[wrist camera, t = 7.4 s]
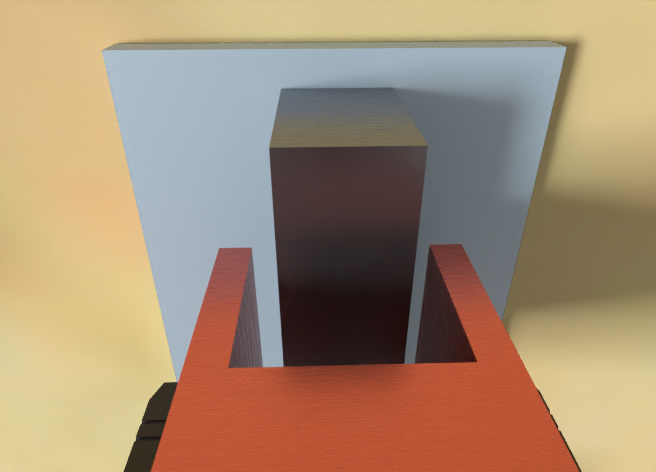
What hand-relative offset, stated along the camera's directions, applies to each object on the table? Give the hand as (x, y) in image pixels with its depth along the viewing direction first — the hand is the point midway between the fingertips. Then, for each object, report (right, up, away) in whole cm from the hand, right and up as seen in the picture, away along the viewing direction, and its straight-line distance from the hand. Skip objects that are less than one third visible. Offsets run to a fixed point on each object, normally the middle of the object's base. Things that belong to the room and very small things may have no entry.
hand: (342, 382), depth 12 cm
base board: (0, -1, +7) cm, 7 cm away
